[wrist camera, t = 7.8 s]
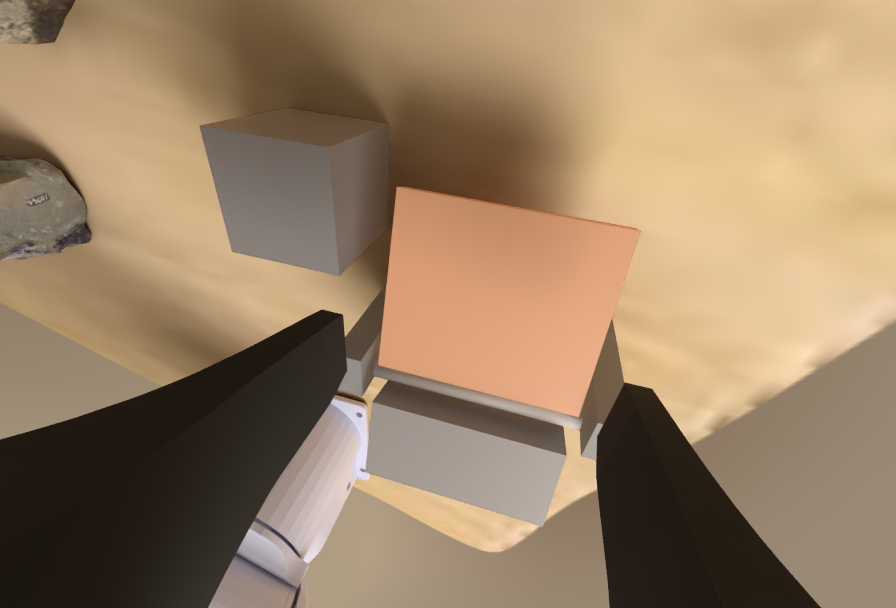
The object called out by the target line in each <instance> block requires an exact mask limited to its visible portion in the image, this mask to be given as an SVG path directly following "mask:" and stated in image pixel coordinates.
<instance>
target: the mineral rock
mask: <svg viewBox="0 0 896 608" xmlns="http://www.w3.org/2000/svg"><path fill="white" fill-rule="evenodd" d="M85 219H86V206H85V202H84V200H83V199H82V197H81V196H80V195H79V194H78V193H77V191H76V190H75V189H74V188H73V187H72V186H71V184H70V183H69V182H68V180H67V179H66V177H65V176H64V174H63V173H62V171H61V170H59V169H57V168H56V167H55V166H53V165H52V164H50V163H49V162H47V161H45V160H42V159H39V158H31V159H25V160H22V159H20V160H18V159H15V158H12V157H8V156H0V262H3V261H7V260H11V259H27V258H30V257H33V256H40V257H41V256H46V255H52V254H56V253H59V252H61V251H60V250H62V249H63V248H65V247H73V246H75V245H78V244H83V243H89V241H90V240H91V234H90V232H89V231H88V229H87V227H86V226H85Z"/></svg>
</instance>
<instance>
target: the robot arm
mask: <svg viewBox="0 0 896 608" xmlns="http://www.w3.org/2000/svg"><path fill="white" fill-rule="evenodd" d="M346 372H347V360H346V347H345V334H344V322H343V315H342V314H338V313H334V312H330V311H326V310H320V311H318V312H316V313H314V314H312V315H310V316H308V317H306V318H304V319H302V320H300V321H298V322H297V323H295V324H293V325H291V326H289V327H287V328H285V329H283V330H282V331H280V332H278V333H276V334H274V335H272V336H270V337H268V338H266V339H264V340H263V341H261V342H259V343H257V344H255V345H253V346H251V347H249V348H247V349H245V350H243V351H241V352H239V353H237V354H235V355H233V356H231V357H228V358H226V359H224V360H222V361H220V362H218V363H216V364H214V365H212V366H210V367H207V368H205V369H203V370H201V371H199V372H197V373H194V374H192V375H190V376H188V377H185V378H183V379H180V380H178V381H176V382H173V383H171V384H168V385H166V386H163V387H161V388H158V389H156V390H153V391H151V392H148V393H145V394H143V395H140V396H138V397H135V398H132V399H129V400H126V401H123V402H121V403H118V404H114V405H111V406H108V407H106V408H103V409H100V410H97V411H94V412H91V413H88V414H85V415H82V416H79V417H76V418H73V419H70V420H67V421H63V422H60V423H56V424H53V425H50V426H46V427H43V428H40V429H36V430H33V431H29V432H26V433H23V434H18V435H15V436H11V437H8V438H4V439H1V440H0V608H309V600H308V585H307V584H306V583H305V582H303V581H302V579H303V577H304V575H305V573H306V571H307V569H308V567H309V564H308V563H309V562H310V561H311V560H312V559H313V558H314V557H315V556H316V555H317V554H318V553H319V552H320V550H321V549H322V547H323V545H324V544H325V542H326V539H327V537H328V535H329V533H330V531H331V529H332V527H333V525H334V523H335V521H336V519H337V517H338V515H339V513H340V511H341V509H342V507H343V505H344V503H345V501H346V499H347V496H348V495H349V492H350V490H351V488H352V486H353V484H354V482H355V480H356V478H358V479H361V480H368V479H369V477H370V474H369V473H366V472H365V469H366V459H367V449H368V439H369V434H368V409H367V406H366V405H365V404H364V403H362V402H359V401H356V400H352V399H348V398H345V397H341V396H338V395H335V394H336V392H337V390H338V388H339V386H340V384H341V382H342V380H343V378H344V376H345V374H346ZM596 479H597V489H598V498H599V508H600V517H601V525H602V534H603V543H604V552H605V560H606V569H607V578H608V589H609V603H610V608H821V607H820V606H819V605H818V604H817V603H816V602H815V601H814V599H813V598H812V597H811V596H810V595H809V594H808V593H807V592H806V590H805V589H804V588H803V587H802V586H801V585H800V583H799V582H798V581H797V580H796V579H795V578H794V577H793V576H792V575H791V573H790V572H789V571H788V570H787V569H786V568H785V566H784V565H783V564H782V563H781V562H780V561H779V560H778V558H777V557H776V556H775V555H774V554H773V552H772V551H771V550H770V549H769V548H768V546H767V545H766V544H765V543H764V542H763V540H762V539H761V538H760V537H759V536H758V534H757V533H756V532H755V531H754V529H753V528H752V527H751V526H750V524H749V523H748V522H747V520H746V519H745V518H744V517H743V515H742V514H741V513H740V512H739V510H738V509H737V508H736V507H735V505H734V504H733V503H732V501H731V500H730V499H729V497H728V496H727V495H726V493H725V492H724V491H723V489H722V488H721V487H720V485H719V484H718V483H717V481H716V480H715V479H714V477H713V476H712V475H711V473H710V472H709V470H708V469H707V468H706V466H705V465H704V464H703V462H702V461H701V459H700V458H699V456H698V455H697V454H696V452H695V451H694V450H693V448H692V446H691V445H690V444H689V442H688V441H687V439H686V438H685V436H684V435H683V433H682V432H681V431H680V429H679V428H678V426H677V425H676V423H675V422H674V420H673V419H672V417H671V416H670V414H669V413H668V411H667V410H666V408H665V407H664V405H663V404H662V403H661V401H660V400H659V398H658V397H657V395H656V394H655V393H654V391H653V390H652V389H650V388H646V387H641V386H637V385H633V384H629V383H624V385H623V387H622V389H621V391H620V393H619V395H618V397H617V399H616V401H615V403H614V405H613V406H612V408H611V410H610V412H609V414H608V416H607V418H606V420H605V422H604V424H603V426H602V428H601V430H600V432H599V433H598V435H597V453H596Z"/></svg>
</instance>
